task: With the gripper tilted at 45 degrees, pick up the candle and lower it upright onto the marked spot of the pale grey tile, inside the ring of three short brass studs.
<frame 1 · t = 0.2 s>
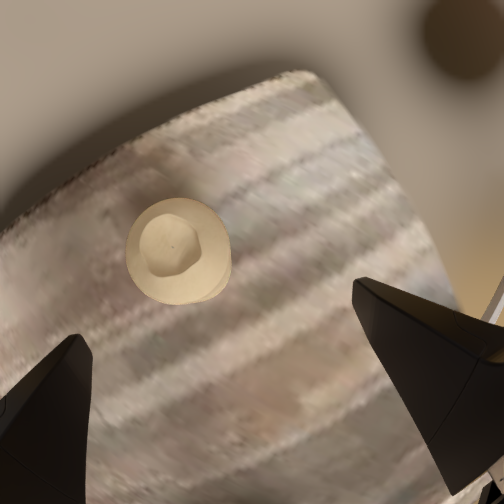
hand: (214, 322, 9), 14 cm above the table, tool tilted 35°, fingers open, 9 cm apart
caliper: (475, 315, 25), on the table
candle: (196, 266, 23), on the table
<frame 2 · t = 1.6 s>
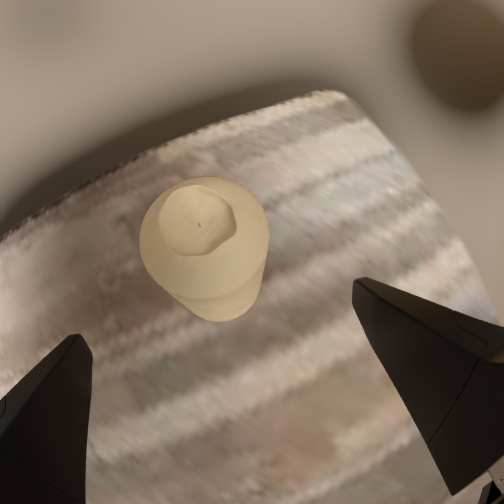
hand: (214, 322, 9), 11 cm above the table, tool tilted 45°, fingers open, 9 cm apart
candle: (219, 282, 20), on the table
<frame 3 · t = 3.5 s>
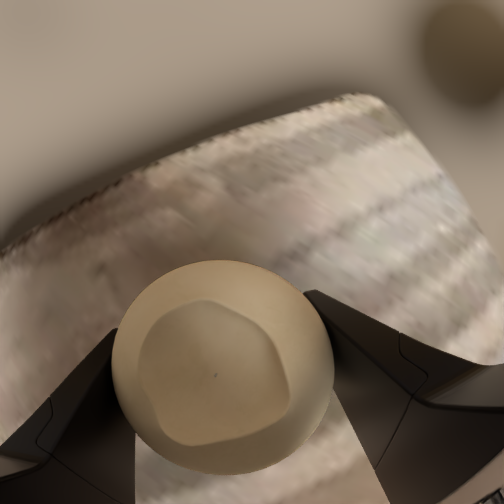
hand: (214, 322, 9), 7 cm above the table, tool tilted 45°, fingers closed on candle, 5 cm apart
candle: (233, 360, 15), on the table, touching gripper
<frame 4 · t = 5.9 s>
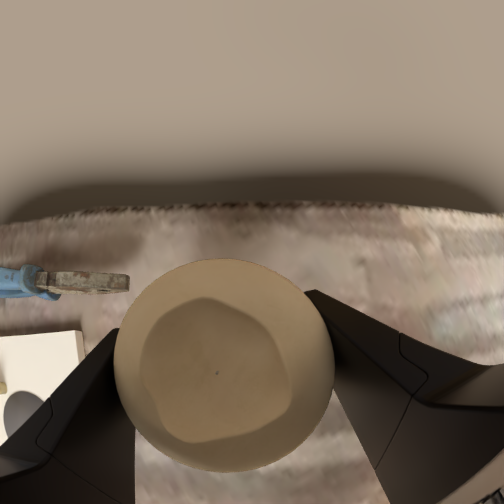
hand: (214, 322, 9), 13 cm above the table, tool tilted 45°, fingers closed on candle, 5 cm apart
pliers: (46, 291, 22), on the table
candle: (235, 359, 15), point 6 cm above the table, touching gripper
stud tile: (40, 432, 18), on the table
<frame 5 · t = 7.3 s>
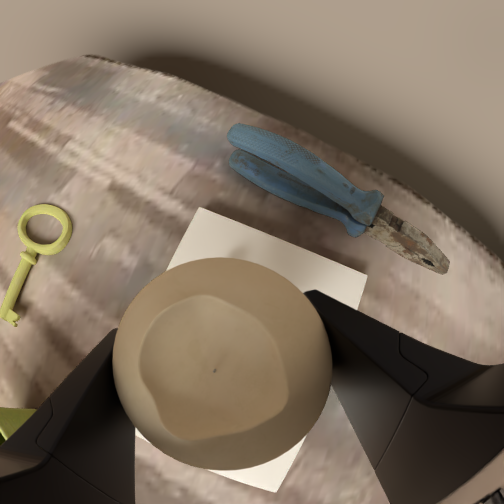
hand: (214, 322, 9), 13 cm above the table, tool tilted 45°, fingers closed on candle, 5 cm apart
plant pot: (45, 440, 18), on the table
pliers: (331, 219, 25), on the table
candle: (234, 358, 15), point 6 cm above the table, touching gripper
stud tile: (235, 354, 21), on the table
key: (36, 261, 23), on the table
when the fingers open (9 cm above the table, at t = 8.6 s): candle stays where it is, resting on stud tile.
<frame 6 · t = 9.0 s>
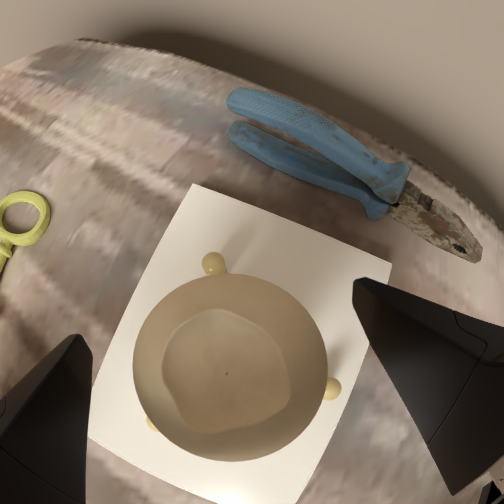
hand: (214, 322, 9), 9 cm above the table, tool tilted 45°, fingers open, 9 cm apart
pliers: (347, 201, 21), on the table
candle: (236, 361, 16), point 1 cm above the table, touching stud tile
stud tile: (234, 359, 17), on the table
key: (12, 254, 19), on the table
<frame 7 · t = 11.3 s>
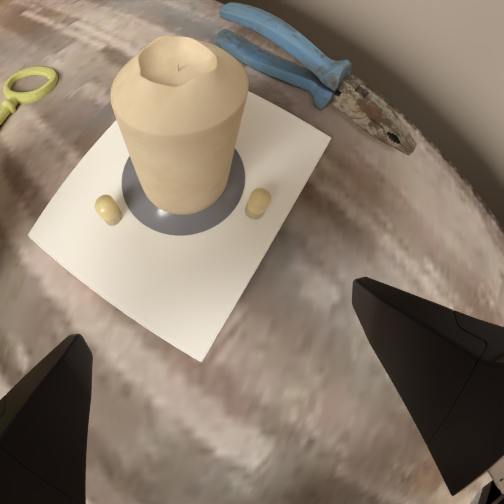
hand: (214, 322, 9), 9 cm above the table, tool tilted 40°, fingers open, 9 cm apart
pliers: (301, 96, 24), on the table
candle: (184, 176, 18), point 1 cm above the table, touching stud tile
stud tile: (183, 183, 20), on the table
key: (14, 113, 19), on the table
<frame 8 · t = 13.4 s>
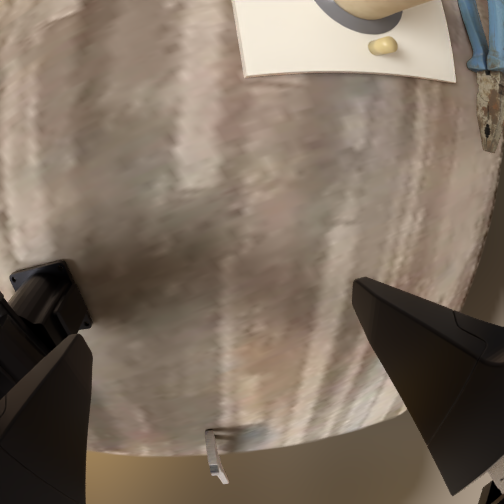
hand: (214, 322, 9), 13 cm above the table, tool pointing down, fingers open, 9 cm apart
caliper: (218, 457, 37), on the table
pliers: (465, 49, 18), on the table
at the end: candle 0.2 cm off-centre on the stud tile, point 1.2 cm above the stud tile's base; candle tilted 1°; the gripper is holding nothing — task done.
